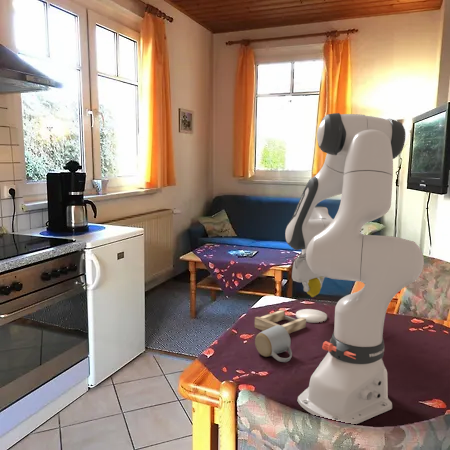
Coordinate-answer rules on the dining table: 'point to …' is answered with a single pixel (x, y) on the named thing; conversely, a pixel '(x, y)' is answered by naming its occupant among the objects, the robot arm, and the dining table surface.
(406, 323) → the dining table surface
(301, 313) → the saucer
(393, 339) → the dining table surface
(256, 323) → the wooden rectangular frame
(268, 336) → the ceramic mug
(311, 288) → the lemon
